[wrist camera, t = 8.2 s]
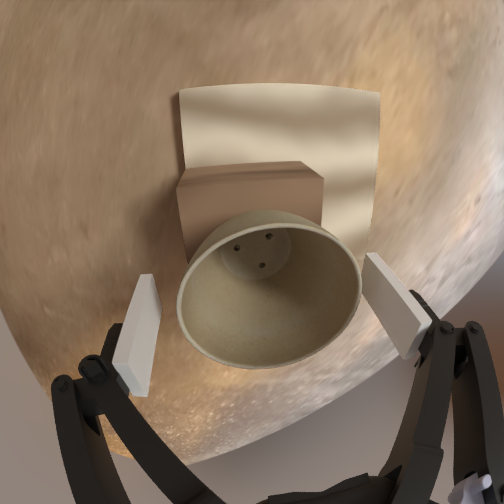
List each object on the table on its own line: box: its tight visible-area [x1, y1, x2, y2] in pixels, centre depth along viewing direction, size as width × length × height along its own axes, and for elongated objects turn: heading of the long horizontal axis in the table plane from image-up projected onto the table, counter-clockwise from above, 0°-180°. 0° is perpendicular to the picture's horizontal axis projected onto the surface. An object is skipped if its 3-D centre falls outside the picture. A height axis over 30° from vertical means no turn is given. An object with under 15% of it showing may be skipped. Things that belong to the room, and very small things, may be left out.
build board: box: [179, 83, 380, 260], centre depth 25 cm, size 18×18×1 cm
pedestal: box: [176, 161, 324, 265], centre depth 23 cm, size 10×10×6 cm
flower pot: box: [176, 210, 362, 369], centre depth 17 cm, size 10×10×7 cm
